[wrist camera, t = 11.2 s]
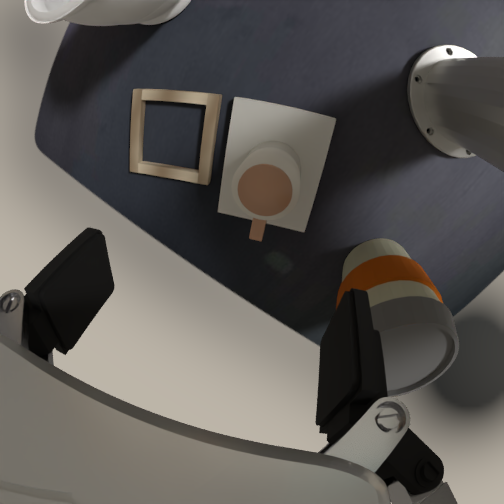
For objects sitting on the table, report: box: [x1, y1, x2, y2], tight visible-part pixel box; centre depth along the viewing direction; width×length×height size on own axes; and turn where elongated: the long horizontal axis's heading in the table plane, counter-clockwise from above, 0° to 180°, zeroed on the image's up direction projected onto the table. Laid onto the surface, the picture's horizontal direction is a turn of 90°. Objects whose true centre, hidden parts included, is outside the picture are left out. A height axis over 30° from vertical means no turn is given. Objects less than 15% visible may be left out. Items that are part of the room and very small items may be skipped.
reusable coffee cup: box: [336, 238, 459, 397], centre depth 28 cm, size 13×13×15 cm
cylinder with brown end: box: [231, 141, 301, 242], centre depth 26 cm, size 8×6×7 cm
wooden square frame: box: [130, 89, 222, 185], centre depth 28 cm, size 10×10×1 cm
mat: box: [218, 97, 336, 232], centre depth 29 cm, size 10×13×1 cm
